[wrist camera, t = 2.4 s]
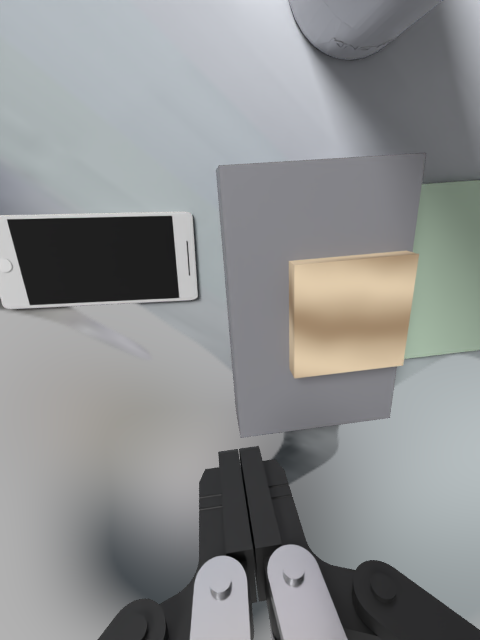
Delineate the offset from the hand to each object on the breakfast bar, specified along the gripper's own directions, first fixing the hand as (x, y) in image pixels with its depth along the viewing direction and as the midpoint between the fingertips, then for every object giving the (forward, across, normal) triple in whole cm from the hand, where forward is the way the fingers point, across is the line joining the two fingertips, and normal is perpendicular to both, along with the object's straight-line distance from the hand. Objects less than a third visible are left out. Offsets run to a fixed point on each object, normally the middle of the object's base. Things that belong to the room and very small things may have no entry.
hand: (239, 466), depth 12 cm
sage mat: (+18, -21, -1) cm, 27 cm away
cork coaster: (+14, -10, 0) cm, 17 cm away
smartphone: (+18, +9, -5) cm, 21 cm away
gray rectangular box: (+18, -8, 0) cm, 19 cm away
